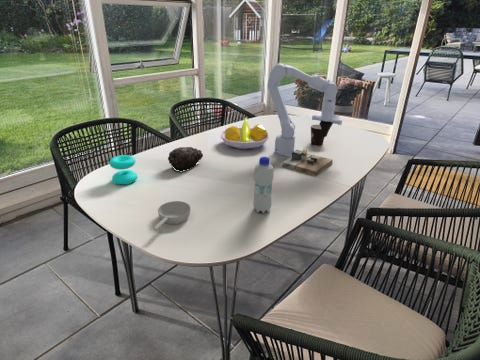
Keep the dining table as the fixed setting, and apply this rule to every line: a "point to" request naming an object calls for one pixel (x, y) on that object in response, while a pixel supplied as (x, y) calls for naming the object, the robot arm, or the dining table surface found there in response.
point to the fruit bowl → (245, 136)
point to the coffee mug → (316, 135)
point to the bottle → (263, 185)
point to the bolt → (304, 155)
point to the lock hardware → (297, 154)
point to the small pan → (173, 213)
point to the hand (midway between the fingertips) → (324, 136)
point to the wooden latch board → (308, 164)
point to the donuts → (123, 175)
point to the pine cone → (184, 158)
